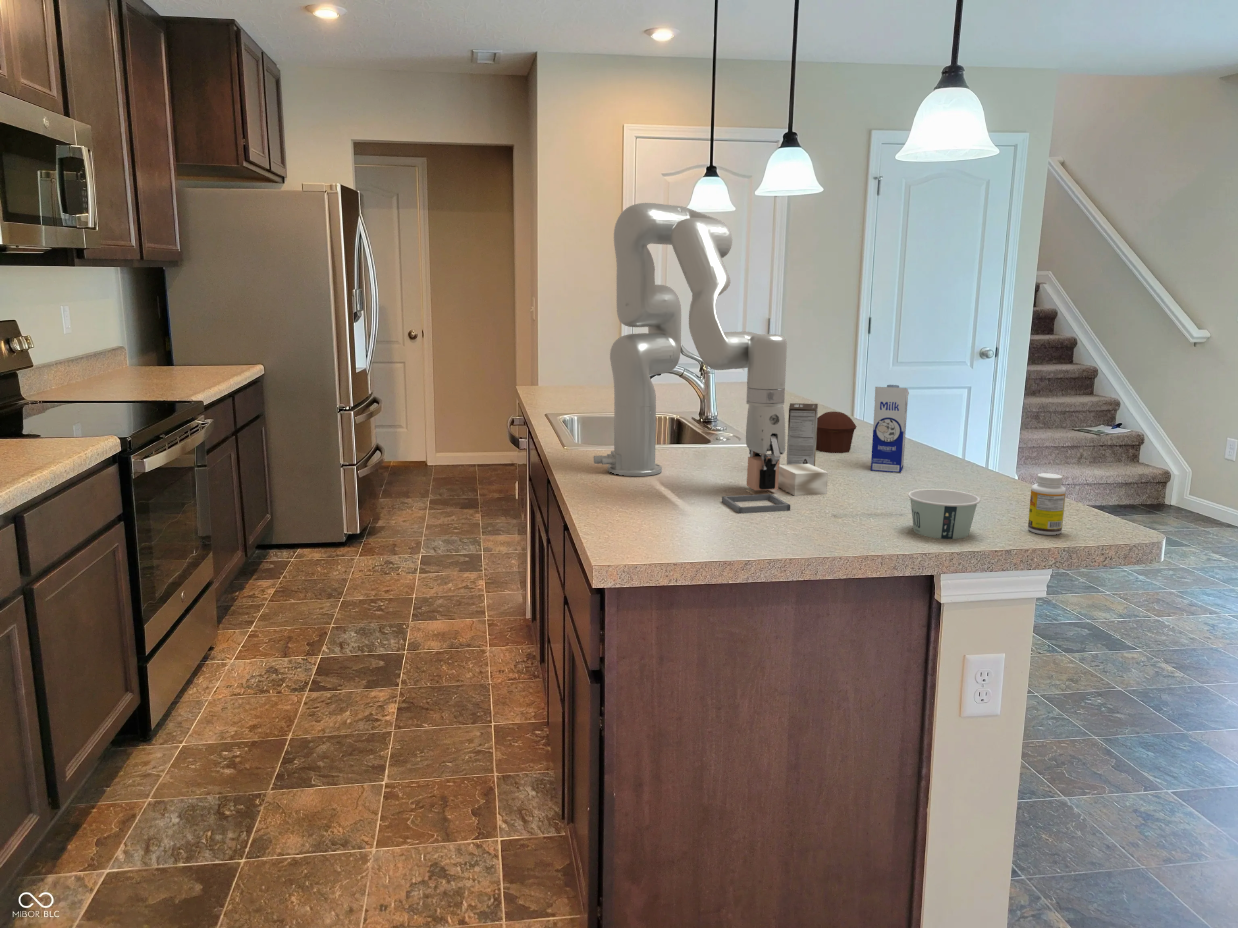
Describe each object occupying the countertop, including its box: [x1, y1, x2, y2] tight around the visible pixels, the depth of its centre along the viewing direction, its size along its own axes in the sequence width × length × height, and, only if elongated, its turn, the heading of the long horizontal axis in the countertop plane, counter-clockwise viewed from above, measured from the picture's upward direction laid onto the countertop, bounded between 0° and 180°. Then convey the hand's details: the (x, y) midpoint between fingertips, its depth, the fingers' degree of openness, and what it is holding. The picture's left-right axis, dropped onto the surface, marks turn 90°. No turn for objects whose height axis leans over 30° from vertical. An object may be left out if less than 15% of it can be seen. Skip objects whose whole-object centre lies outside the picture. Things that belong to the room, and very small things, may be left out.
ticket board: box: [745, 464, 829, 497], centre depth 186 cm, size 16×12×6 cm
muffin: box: [816, 411, 857, 454], centre depth 238 cm, size 12×11×10 cm
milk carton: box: [870, 384, 910, 473], centre depth 212 cm, size 7×7×20 cm
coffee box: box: [786, 402, 819, 467], centre depth 206 cm, size 9×6×16 cm
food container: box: [907, 488, 981, 540], centre depth 160 cm, size 12×12×6 cm
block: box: [746, 456, 781, 491], centre depth 184 cm, size 5×4×6 cm
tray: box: [721, 493, 791, 514], centre depth 173 cm, size 10×9×2 cm
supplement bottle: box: [1027, 472, 1067, 536], centre depth 160 cm, size 6×6×10 cm
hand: (762, 485), depth 185 cm, fingers closed on block, 4 cm apart
